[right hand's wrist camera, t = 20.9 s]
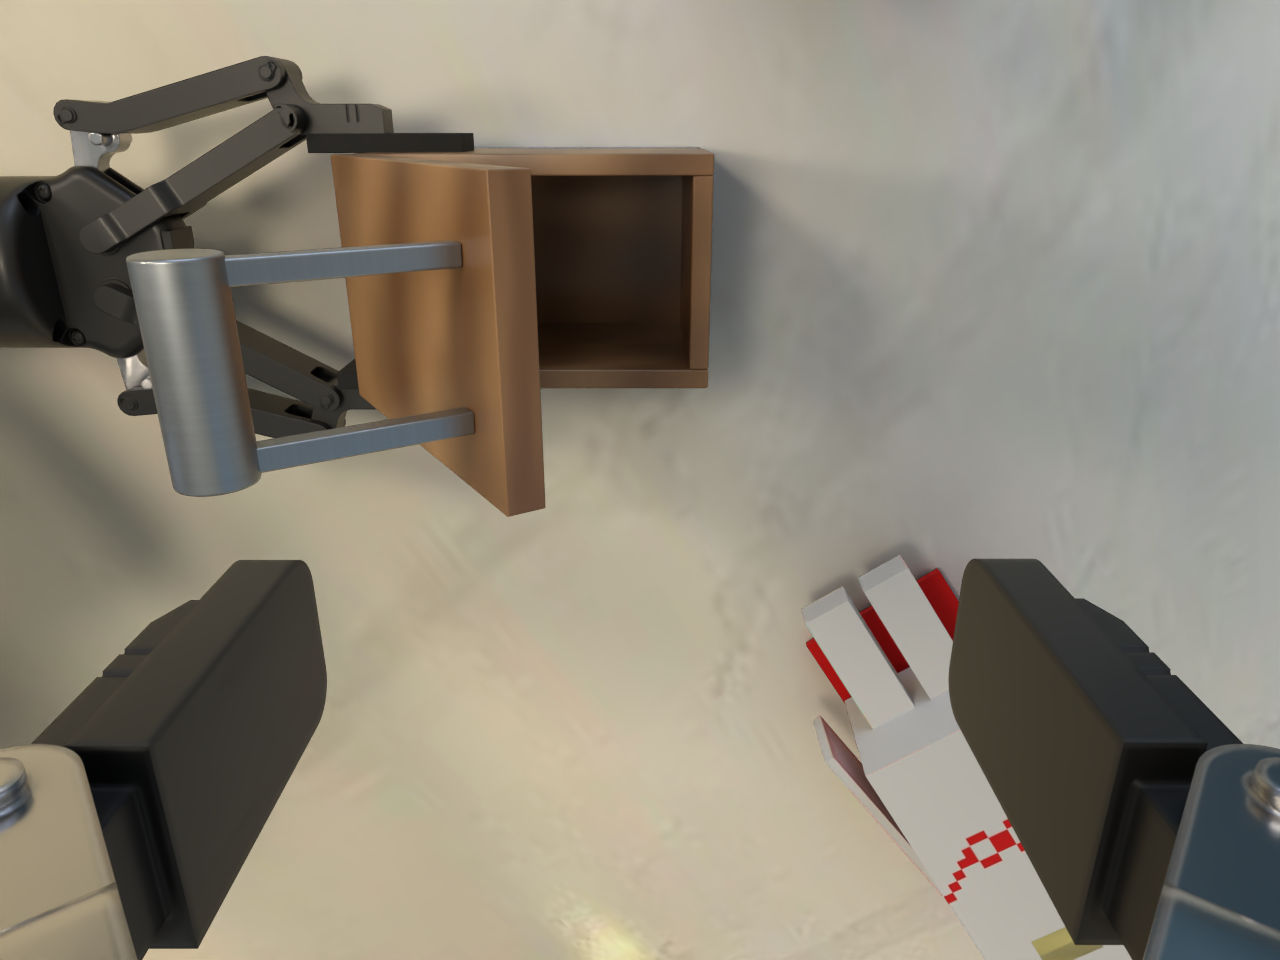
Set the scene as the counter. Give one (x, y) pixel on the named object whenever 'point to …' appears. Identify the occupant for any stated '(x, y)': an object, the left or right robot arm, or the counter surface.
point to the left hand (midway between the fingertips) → (476, 263)
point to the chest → (616, 261)
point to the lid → (370, 332)
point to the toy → (929, 762)
